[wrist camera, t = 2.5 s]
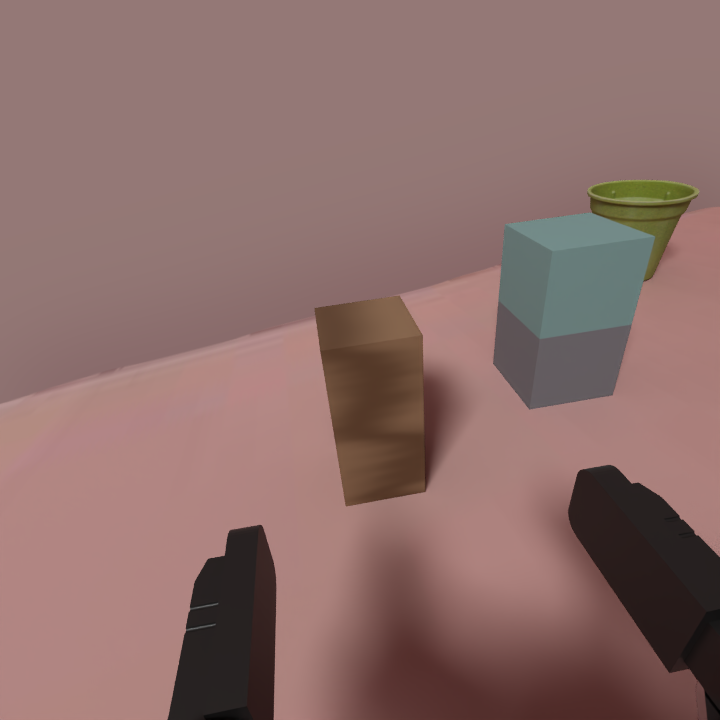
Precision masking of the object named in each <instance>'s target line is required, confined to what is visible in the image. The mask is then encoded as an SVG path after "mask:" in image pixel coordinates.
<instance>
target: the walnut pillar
mask: <svg viewBox="0 0 720 720" xmlns="http://www.w3.org/2000/svg"><path fill="white" fill-rule="evenodd" d="M315 315H316V323H317V330H318V337H319V345H320V352H321V358H322V364H323V370H324V376H325V382H326V388H327V394H328V400H329V406H330V413H331V419H332V425H333V431H334V437H335V443H336V449H337V455H338V461H339V467H340V474H341V480H342V486H343V492H344V498H345V504H346V506H350V505H356V504H361V503H367V502H372V501H378V500H383V499H389V498H394V497H400V496H405V495H410V494H416V493H421V492H425V445H424V387H423V335H422V333H421V332H420V330H419V328H418V326H417V325H416V323H415V321H414V320H413V318H412V316H411V315H410V313H409V311H408V309H407V308H406V306H405V304H404V303H403V301H402V299H401V297H400V296H394V297H387V298H380V299H374V300H367V301H360V302H353V303H346V304H339V305H332V306H326V307H319V308H315Z"/></svg>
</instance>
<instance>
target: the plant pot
mask: <svg viewBox="0 0 720 720" xmlns="http://www.w3.org/2000/svg"><path fill="white" fill-rule="evenodd" d="M587 194H588V196H590V197H591V201H590V202H591V203H590V208H591V210H592V213H593V214H596V215H598V216H601V217H604V218H606V219H609V220H612V221H615V222H617V223H620V224H623V225H625V226H628V227H631V228H634V229H636V230H639V231H642V232H644V233H647V234H650V235H653V236H655V240H654V243H653V247H652V251H651V254H650V258H649V262H648V265H647V269H646V273H645V277H644V280H643V281H645V280H648V279H650V278H651V277H652V276H653V274H654V272H655V270H656V268H657V266H658V264H659V261H660V259H661V257H662V255H663V253H664V250H665V248H666V246H667V244H668V242H669V240H670V238H671V235H672V233H673V231H674V229H675V227H676V225H677V223H678V221H679V219H680V217H681V215H682V214H683V213H684V212H685V211H686V210H687V208H688V206H689V204H690V202H691V200H692V199H694V198H696V197H697V196H698V194H699V190H698V189H697V188H695V187H693V186H690V185H686V184H683V183H678V182H670V181H659V180H624V181H612V182H606V183H601V184H597V185H594V186H592V187H590V188H589V189H588V191H587Z"/></svg>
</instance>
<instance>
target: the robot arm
mask: <svg viewBox="0 0 720 720" xmlns="http://www.w3.org/2000/svg"><path fill="white" fill-rule="evenodd" d="M568 514H569V520H570V524H571V527H572V529H573V531H574V533H575V534H576V536H577V538H578V539H579V540H580V542H581V543H582V545H583V546H584V548H585V549H586V551H587V552H588V554H589V555H590V557H591V558H592V560H593V561H594V563H595V564H596V566H597V567H598V568H599V570H600V571H601V573H602V574H603V576H604V577H605V579H606V580H607V582H608V583H609V585H610V586H611V588H612V589H613V591H614V592H615V594H616V595H617V596H618V598H619V599H620V601H621V602H622V604H623V605H624V607H625V608H626V610H627V611H628V613H629V614H630V616H631V617H632V619H633V620H634V622H635V623H636V624H637V626H638V627H639V629H640V630H641V632H642V633H643V635H644V636H645V638H646V639H647V641H648V642H649V644H650V645H651V647H652V648H653V650H654V651H655V652H656V654H657V655H658V657H659V658H660V660H661V661H662V663H663V664H664V666H665V667H666V669H667V670H668V672H669V673H671V672H676V671H680V670H685V669H690V670H691V672H692V673H693V674H694V676H695V677H696V679H697V680H698V681H697V683H696V702H697V713H698V720H720V557H719V556H718V555H717V554H716V553H715V552H714V551H713V550H712V549H711V548H710V547H709V546H708V545H707V544H706V543H705V542H704V541H703V540H702V539H701V538H700V537H699V536H696V535H695V533H694V530H693V529H692V528H691V527H690V526H689V525H688V524H687V523H686V522H685V521H684V520H681V519H680V517H679V515H678V514H677V513H676V512H675V511H674V510H673V509H672V508H671V507H670V506H669V504H668V503H667V502H666V501H665V500H664V499H663V498H662V497H660V496H659V495H657V494H656V493H654V492H652V491H651V490H649V489H648V488H646V487H645V486H643V485H641V484H640V483H633V484H631V482H630V481H629V480H628V479H627V478H626V477H625V476H624V475H623V474H622V473H621V472H620V471H619V470H618V469H617V468H616V467H614V466H612V465H606V466H600V467H594V468H589V469H583V470H580V471H579V472H578V474H577V477H576V481H575V485H574V489H573V493H572V497H571V501H570V505H569V510H568ZM275 628H276V574H275V567H274V562H273V559H272V555H271V552H270V549H269V545H268V542H267V539H266V535H265V532H264V529H263V526H262V525H257V526H251V527H245V528H240V529H234V530H230V531H229V533H228V537H227V544H226V551H225V556H221V557H215V558H210V559H208V560H207V562H206V563H205V565H204V567H203V568H202V570H201V572H200V574H199V575H198V577H197V579H196V580H195V583H194V588H193V593H192V599H191V604H190V612H189V614H188V619H187V624H186V633H185V635H184V640H183V645H182V650H181V655H180V660H179V665H178V671H177V676H176V681H175V686H174V691H173V696H172V701H171V707H170V712H169V716H168V720H274V674H275Z"/></svg>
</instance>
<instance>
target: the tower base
mask: <svg viewBox="0 0 720 720" xmlns="http://www.w3.org/2000/svg"><path fill="white" fill-rule="evenodd" d="M631 325H632V324H631ZM631 325H625V326H619V327H613V328H606V329H600V330H594V331H587V332H581V333H575V334H568V335H562V336H556V337H550V338H543V339H539V338H538V337H537V336H536V335H535V334H534V333H533V332H531V331H530V330H529V329H528V328H527V327H526V326H525V325H524V324H523V323H522V322H521V321H520V320H519V319H518V318H517V317H516V316H514V315H513V314H512V313H511V312H510V311H509V310H508V309H507V308H506V307H505V306H504V305H503V304H502V303H501V302H500V301H499V302H498V314H497V325H496V337H495V349H494V361H493V364H494V365H495V366H496V368H497V369H498V370H499V371H500V373H501V374H502V375H503V377H504V378H505V379H506V380H507V382H508V383H509V384H510V385H511V387H512V388H513V389H514V390H515V392H516V393H517V394H518V396H519V397H520V398H521V399H522V401H523V402H524V403H525V404H526V406H527V407H528V408H529V409H535V408H540V407H546V406H552V405H558V404H564V403H570V402H576V401H581V400H587V399H593V398H599V397H605V396H611V395H613V391H614V388H615V384H616V380H617V377H618V373H619V369H620V366H621V362H622V358H623V355H624V351H625V347H626V344H627V340H628V336H629V333H630V329H631Z"/></svg>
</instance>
